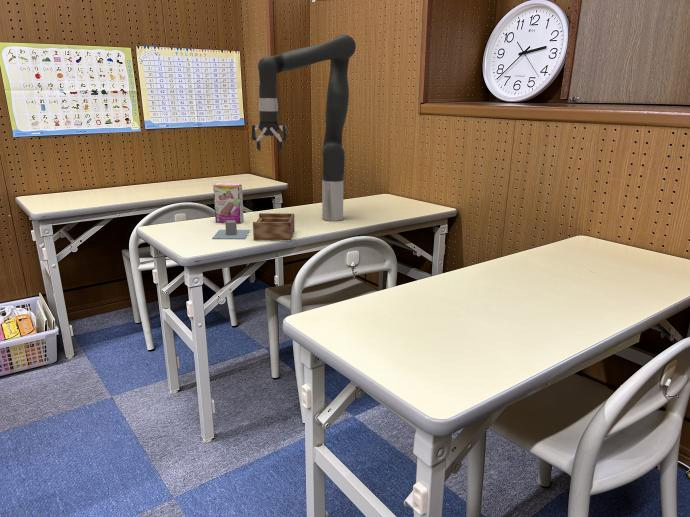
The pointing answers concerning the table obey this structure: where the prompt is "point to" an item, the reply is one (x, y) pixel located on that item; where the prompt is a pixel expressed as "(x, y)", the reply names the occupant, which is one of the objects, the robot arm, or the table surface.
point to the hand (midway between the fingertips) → (269, 150)
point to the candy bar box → (228, 202)
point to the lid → (231, 232)
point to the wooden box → (274, 226)
